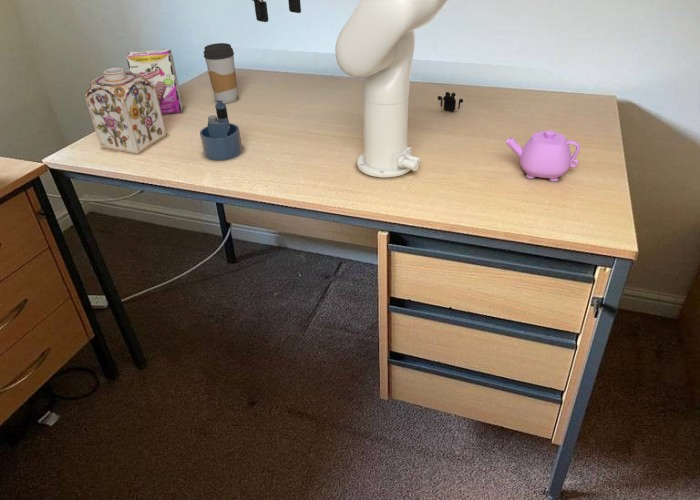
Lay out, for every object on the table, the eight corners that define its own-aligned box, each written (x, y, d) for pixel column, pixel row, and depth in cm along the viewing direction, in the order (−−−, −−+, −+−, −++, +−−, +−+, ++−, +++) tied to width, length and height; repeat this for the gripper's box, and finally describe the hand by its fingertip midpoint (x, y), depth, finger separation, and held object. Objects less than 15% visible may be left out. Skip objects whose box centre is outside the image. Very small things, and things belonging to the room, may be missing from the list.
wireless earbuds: (462, 111, 144) (464, 92, 141) (460, 114, 142) (461, 96, 140) (437, 107, 147) (438, 89, 144) (434, 111, 145) (435, 92, 142)
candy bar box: (141, 117, 149) (124, 56, 140) (143, 110, 153) (127, 51, 144) (182, 113, 151) (169, 53, 141) (184, 106, 155) (170, 47, 145)
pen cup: (250, 150, 129) (246, 128, 126) (220, 164, 124) (215, 142, 121) (226, 141, 134) (222, 120, 131) (196, 153, 129) (192, 132, 126)
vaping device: (231, 152, 127) (222, 103, 120) (210, 151, 128) (200, 102, 121) (235, 148, 129) (227, 99, 122) (215, 146, 130) (205, 98, 123)
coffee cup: (247, 97, 159) (239, 44, 150) (227, 106, 154) (218, 52, 145) (226, 92, 163) (217, 41, 154) (206, 101, 157) (195, 48, 149)
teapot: (575, 188, 109) (585, 145, 104) (499, 179, 113) (505, 137, 108) (575, 165, 117) (584, 124, 112) (504, 157, 121) (510, 118, 116)
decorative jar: (99, 148, 133) (75, 75, 123) (131, 130, 142) (111, 60, 132) (138, 155, 130) (117, 80, 119) (168, 135, 138) (151, 64, 128)
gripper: (248, -69, 101) (260, 27, 111) (313, -78, 111) (319, 11, 121) (223, -71, 105) (237, 22, 115) (288, -79, 115) (295, 7, 125)
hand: (279, 16), depth 118 cm, fingers open, 9 cm apart
